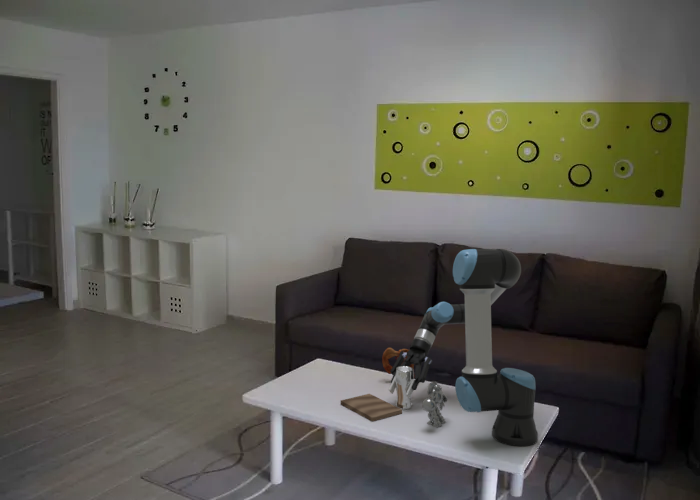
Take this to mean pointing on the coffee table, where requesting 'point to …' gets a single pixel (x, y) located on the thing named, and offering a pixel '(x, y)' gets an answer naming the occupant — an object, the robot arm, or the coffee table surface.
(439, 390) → the robot toy
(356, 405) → the serving board
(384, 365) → the mug
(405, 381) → the beer glass
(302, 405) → the coffee table surface
